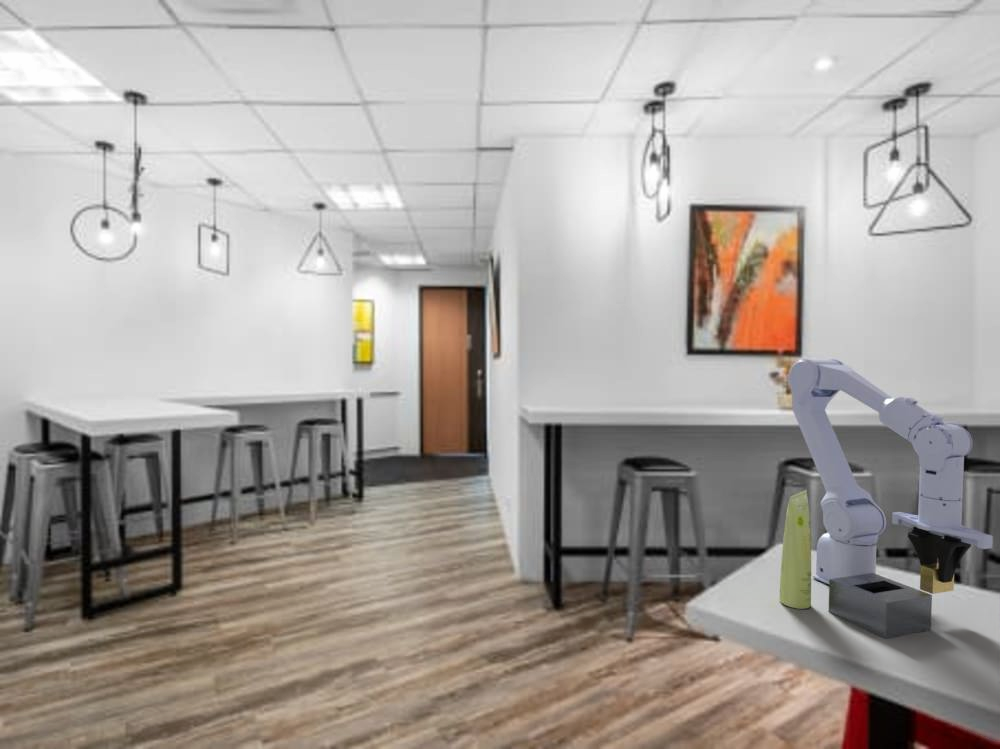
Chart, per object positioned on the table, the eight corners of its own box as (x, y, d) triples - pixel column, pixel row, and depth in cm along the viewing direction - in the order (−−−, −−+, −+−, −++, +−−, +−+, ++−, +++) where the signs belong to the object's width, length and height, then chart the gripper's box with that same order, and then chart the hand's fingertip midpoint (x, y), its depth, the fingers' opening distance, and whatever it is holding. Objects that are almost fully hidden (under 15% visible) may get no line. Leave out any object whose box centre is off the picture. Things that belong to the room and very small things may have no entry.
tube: (818, 612, 97) (821, 497, 97) (786, 610, 98) (789, 495, 97) (803, 598, 103) (806, 489, 102) (774, 596, 103) (777, 488, 103)
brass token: (919, 589, 95) (920, 565, 95) (940, 585, 97) (941, 562, 97) (932, 593, 94) (933, 569, 93) (953, 590, 95) (954, 566, 95)
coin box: (828, 611, 97) (829, 579, 97) (871, 604, 101) (872, 572, 101) (885, 638, 88) (886, 602, 88) (930, 629, 91) (931, 595, 91)
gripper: (880, 488, 100) (877, 565, 101) (972, 509, 87) (968, 598, 87) (909, 486, 103) (906, 561, 103) (1003, 506, 89) (999, 593, 89)
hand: (937, 578), depth 95 cm, fingers closed on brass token, 2 cm apart
